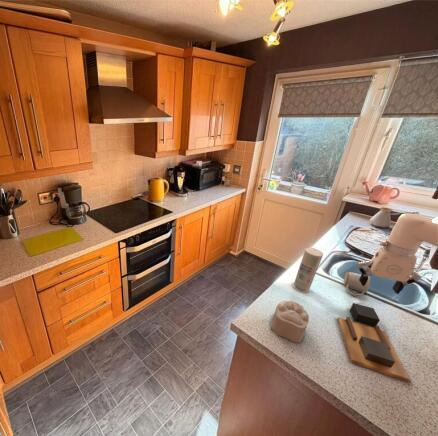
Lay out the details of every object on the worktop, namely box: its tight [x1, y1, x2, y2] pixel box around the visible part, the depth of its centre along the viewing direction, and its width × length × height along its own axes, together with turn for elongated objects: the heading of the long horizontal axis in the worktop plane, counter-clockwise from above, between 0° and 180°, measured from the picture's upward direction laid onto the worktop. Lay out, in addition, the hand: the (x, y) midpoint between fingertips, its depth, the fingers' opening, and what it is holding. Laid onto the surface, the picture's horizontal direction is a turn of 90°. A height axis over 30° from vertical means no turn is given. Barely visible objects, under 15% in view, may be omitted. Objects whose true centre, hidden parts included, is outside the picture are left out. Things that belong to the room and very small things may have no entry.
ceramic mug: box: [342, 271, 371, 297], centre depth 105 cm, size 11×8×8 cm
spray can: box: [293, 247, 324, 293], centre depth 104 cm, size 6×6×20 cm
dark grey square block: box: [349, 302, 381, 328], centre depth 91 cm, size 6×6×4 cm
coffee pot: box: [369, 206, 420, 229], centre depth 161 cm, size 21×12×15 cm, turn 43°
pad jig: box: [337, 316, 411, 382], centre depth 80 cm, size 14×19×4 cm
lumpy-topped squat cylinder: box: [271, 300, 310, 343], centre depth 87 cm, size 10×13×9 cm
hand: (378, 287), depth 86 cm, fingers open, 9 cm apart
